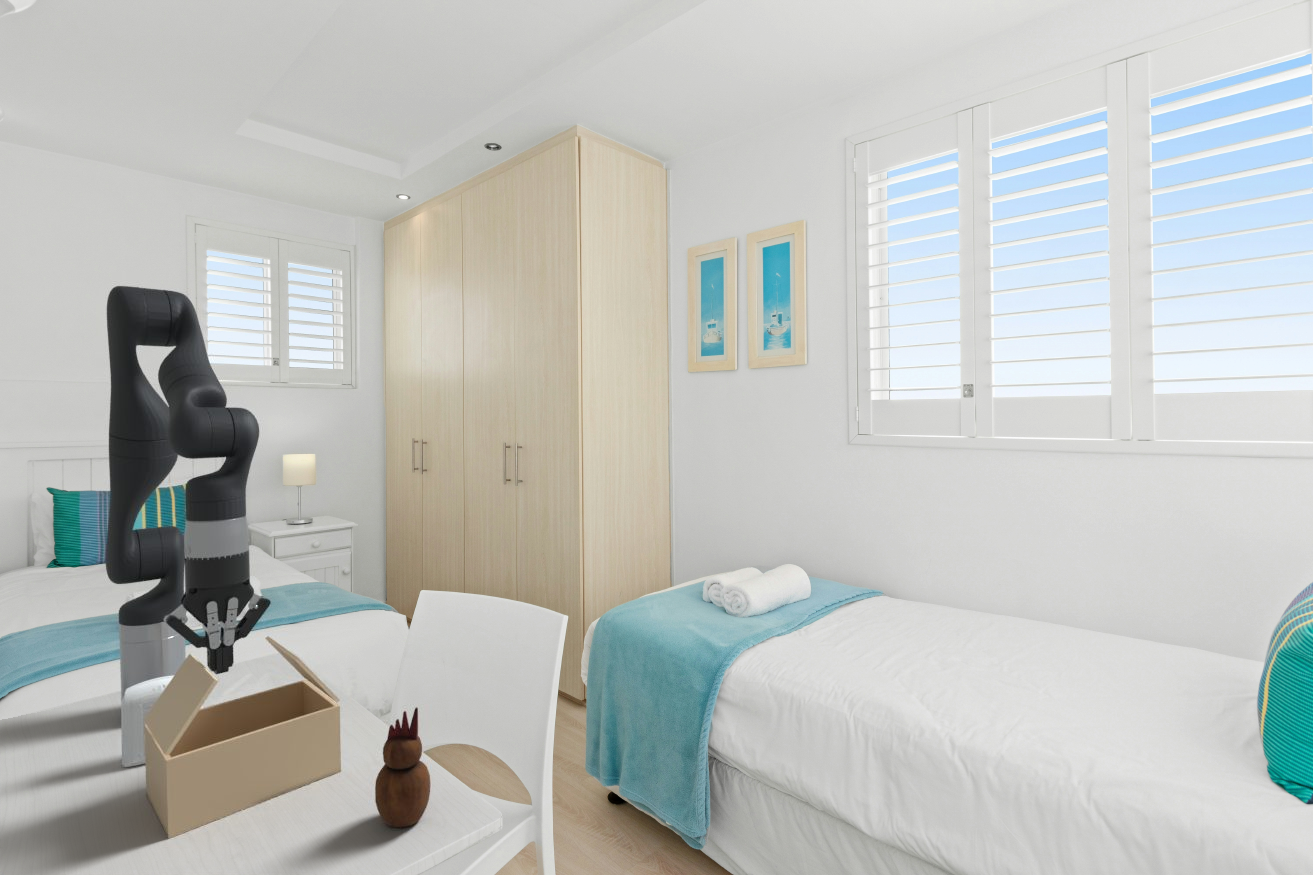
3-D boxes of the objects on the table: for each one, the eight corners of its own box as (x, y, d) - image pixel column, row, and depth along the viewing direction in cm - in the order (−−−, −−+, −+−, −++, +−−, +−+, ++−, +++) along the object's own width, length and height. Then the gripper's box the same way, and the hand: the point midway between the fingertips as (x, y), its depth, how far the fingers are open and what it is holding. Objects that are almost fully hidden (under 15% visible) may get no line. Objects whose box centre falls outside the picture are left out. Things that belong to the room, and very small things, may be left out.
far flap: (265, 638, 102) (267, 635, 102) (303, 677, 106) (306, 674, 106) (296, 660, 92) (299, 658, 93) (337, 702, 97) (340, 699, 97)
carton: (146, 794, 91) (144, 724, 91) (306, 739, 107) (305, 679, 106) (168, 838, 82) (166, 760, 81) (341, 771, 97) (339, 705, 97)
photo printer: (204, 740, 106) (202, 666, 106) (203, 752, 103) (201, 675, 102) (124, 759, 101) (121, 680, 100) (120, 771, 97) (117, 690, 97)
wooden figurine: (439, 811, 87) (437, 702, 87) (409, 838, 82) (408, 721, 81) (398, 802, 90) (396, 695, 89) (366, 827, 84) (365, 713, 84)
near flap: (147, 720, 91) (143, 719, 91) (192, 654, 95) (189, 653, 94) (168, 755, 82) (164, 754, 81) (218, 680, 86) (214, 679, 85)
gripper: (261, 539, 98) (264, 652, 99) (153, 553, 89) (156, 678, 89) (278, 546, 93) (281, 665, 94) (165, 561, 83) (168, 694, 84)
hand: (220, 671), depth 91 cm, fingers closed
